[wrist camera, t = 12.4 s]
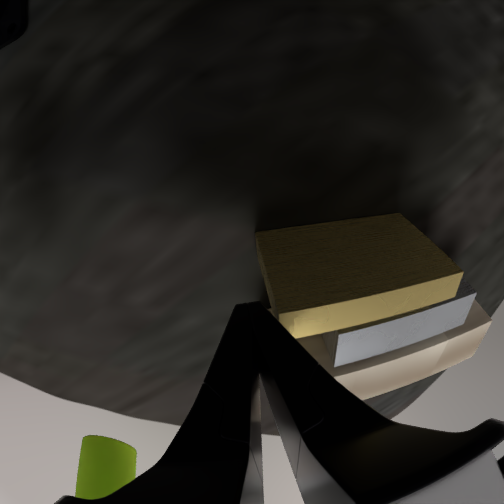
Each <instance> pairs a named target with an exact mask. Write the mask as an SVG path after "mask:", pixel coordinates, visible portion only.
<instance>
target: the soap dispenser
mask: <svg viewBox="0 0 504 504" xmlns="http://www.w3.org/2000/svg"><path fill="white" fill-rule="evenodd" d="M136 454H137V453H136V450H135V449H134V448H133V447H132V446H130V445H128V444H126V443H124V442H122V441H119V440H116V439H112V438H108V437H104V436H97V435H88V436H85V437H83V440H82V446H81V453H80V459H79V467H78V474H77V484H76V495H75V497H79V498H83V499H99V498H103V497H106V496H108V495H110V494H112V493H113V492H115V491H116V490H118V489H120V488H121V487H123V486H124V485H126V484H128V483H129V482H131V481H132V480H134V479H135V474H136Z"/></svg>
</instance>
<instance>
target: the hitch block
mask: <svg viewBox="0 0 504 504" xmlns="http://www.w3.org/2000/svg"><path fill="white" fill-rule="evenodd" d="M268 310H269V311H270V312H271V313H272V314H273V312H272V308H269V309H268ZM491 322H492V319H491V318H490V317H489V316H488V314H487V313H486V312H485V311H484V310H483V309H482V307H481V306H480V305H479V304H478V303H477V302H476V300H475V299H474V301H473V303H472V306H471V308H470V310H469V313H468V315H467V317H466V319H465V322H464V324H463V325H460V326H458V327H455V328H453V329H450V330H448V331H445V332H443V333H440V334H438V335H435V336H432V337H430V338H427V339H424V340H422V341H419V342H416V343H413V344H410V345H407V346H404V347H401V348H398V349H395V350H392V351H389V352H386V353H383V354H379V355H376V356H373V357H369V358H366V359H363V360H359V361H355V362H352V363H348V364H344V365H340V366H336V367H334V366H333V363H332V361H331V358H330V355H329V353H328V350H327V348H326V345H325V343H324V340H323V338H322V335H321V333H320V334H316V335H311V336H306V337H301V338H296V340H297V341H298V342H299V343H300V344H301V345H302V346H303V347H304V348H305V349H306V350H307V351H308V352H309V353H310V354H311V355H312V356H313V357H314V358H315V359H316V360H317V361H318V362H319V364H321V365H322V366H323V367H324V368H325V369H326V370H327V371H328V372H329V373H330V374H331V375H332V376H333V377H334V378H335V379H336V380H337V381H338V382H339V383H341V384H342V385H343V386H344V387H345V388H347V389H348V390H349V391H350V392H352V393H353V394H354V395H356V396H357V397H358V398H360V399H361V400H364V399H368V398H371V397H374V396H377V395H380V394H383V393H386V392H389V391H392V390H395V389H397V388H400V387H403V386H405V385H408V384H411V383H413V382H416V381H418V380H421V379H423V378H426V377H428V376H431V375H433V374H435V373H438V372H440V371H442V370H444V369H447V368H449V367H451V366H453V365H455V364H458V363H459V362H461V361H464V360H466V359H468V358H470V357H472V356H473V355H474V353H475V351H476V350H477V348H478V346H479V344H480V343H481V341H482V339H483V337H484V335H485V334H486V332H487V330H488V328H489V326H490V324H491Z"/></svg>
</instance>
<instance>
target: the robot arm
mask: <svg viewBox="0 0 504 504" xmlns="http://www.w3.org/2000/svg"><path fill="white" fill-rule="evenodd" d="M15 25H16V29H15V31H14V32H13V33H12V30H13V28H14V26H15ZM25 26H26V0H0V49H2V48H3V47H5V46H6V45H8V44H10V43H11V42H13V41H15V40H16V39H18V38H19V37H20V36H21V35H22V34H23V32H24V30H25ZM259 374H260V377H261V380H262V383H263V386H264V389H265V392H266V395H267V398H268V401H269V404H270V407H271V410H272V413H273V416H274V419H275V422H276V425H277V427H278V430H279V433H280V436H281V439H282V442H283V445H284V448H285V450H286V453H287V456H288V459H289V462H290V464H291V467H292V470H293V473H294V476H295V478H296V481H297V484H298V487H299V490H300V492H301V495H302V498H303V501H304V503H305V504H504V456H503V457H501V458H500V459H499V460H496V458H495V456H494V454H493V452H492V449H493V448H494V447H496V446H497V445H498V444H499V443H501V442H502V441H503V440H504V421H500V420H497V419H493V418H491V419H488V420H486V421H484V422H483V423H481V424H479V425H478V426H476V427H475V428H473V429H471V430H468V431H464V432H456V433H455V432H445V431H439V430H432V429H427V428H420V427H416V426H411V425H406V424H401V423H397V422H394V421H392V420H390V419H388V418H386V417H384V416H383V415H381V414H380V413H379V412H377V411H376V410H374V409H373V408H372V407H370V406H369V405H368V404H366V403H365V402H364V401H362V400H361V399H360V398H358V397H357V396H356V395H354V394H353V393H352V392H350V391H349V390H348V389H347V388H345V387H344V386H343V385H342V384H341V383H339V382H338V381H337V380H336V379H335V378H334V377H333V376H332V375H331V374H330V373H329V372H328V371H327V370H326V369H325V368H324V367H323V366H322V365H321V364H319V362H318V361H317V360H316V359H315V358H314V357H313V356H312V355H311V354H310V353H309V352H308V351H307V350H306V349H305V348H304V347H303V346H302V345H301V344H300V343H299V342H298V341H297V340H296V339H295V338H294V337H293V336H292V334H291V333H290V332H289V331H288V330H287V329H286V328H285V327H284V326H283V325H282V324H281V323H280V322H279V321H278V320H277V319H276V318H275V317H274V316H273V314H272V313H271V312H270V311H269V310H268V309H267V308H266V307H265V306H264V305H263V304H262V303H261V302H260V301H256V302H249V303H243V304H237V305H235V307H234V309H233V312H232V314H231V317H230V319H229V321H228V324H227V326H226V329H225V331H224V334H223V336H222V338H221V341H220V343H219V346H218V348H217V350H216V353H215V355H214V358H213V360H212V363H211V365H210V367H209V370H208V372H207V375H206V377H205V379H204V383H203V384H202V386H201V389H200V391H199V393H198V396H197V398H196V400H195V402H194V404H193V406H192V408H191V410H190V412H189V414H188V415H187V417H186V419H185V421H184V422H183V424H182V426H181V427H180V429H179V431H178V432H177V434H176V436H175V437H174V439H173V440H172V442H171V444H170V445H169V447H168V449H167V450H166V452H165V453H164V455H163V456H162V457H161V459H160V460H159V461H158V462H157V463H156V464H155V465H154V466H153V467H151V468H150V469H149V470H147V471H146V472H144V473H143V474H141V475H140V476H138V477H137V478H135V479H134V480H132V481H131V482H129V483H128V484H126V485H124V486H123V487H121V488H120V489H118V490H116V491H115V492H113V493H112V494H110V495H108V496H106V497H103V498H99V499H83V498H79V497H74V496H67V495H65V496H63V497H61V498H60V499H59V500H58V501H56V502H55V503H54V504H264V494H263V469H262V467H263V466H262V438H261V411H260V385H259Z"/></svg>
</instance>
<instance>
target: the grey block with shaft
mask: <svg viewBox="0 0 504 504" xmlns="http://www.w3.org/2000/svg"><path fill="white" fill-rule="evenodd" d="M476 293H477V292H476V291H475V290H474V289H473V288H472V287H471V286H470V285H469V283H468V282H467V281H466V280H465V279H464V278H463V277H462V278H461V281H460V284H459V287H458V290H457V292H456V295H455V297H453V298H450V299H447V300H444V301H441V302H438V303H435V304H432V305H428V306H425V307H422V308H419V309H415V310H412V311H408V312H405V313H401V314H398V315H394V316H391V317H387V318H383V319H379V320H376V321H372V322H368V323H364V324H360V325H356V326H351V327H347V328H343V329H339V330H334V331H330V332H325V333H321V335H322V338H323V340H324V343H325V345H326V348H327V350H328V353H329V355H330V358H331V361H332V363H333V366H334V367H336V366H340V365H344V364H348V363H352V362H355V361H359V360H363V359H366V358H369V357H373V356H376V355H379V354H383V353H386V352H389V351H392V350H395V349H398V348H401V347H404V346H407V345H410V344H413V343H416V342H419V341H422V340H424V339H427V338H430V337H432V336H435V335H438V334H440V333H443V332H445V331H448V330H450V329H453V328H455V327H458V326H460V325H463V324H464V322H465V319H466V317H467V315H468V313H469V310H470V308H471V306H472V303H473V301H474V298H475V296H476Z"/></svg>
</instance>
